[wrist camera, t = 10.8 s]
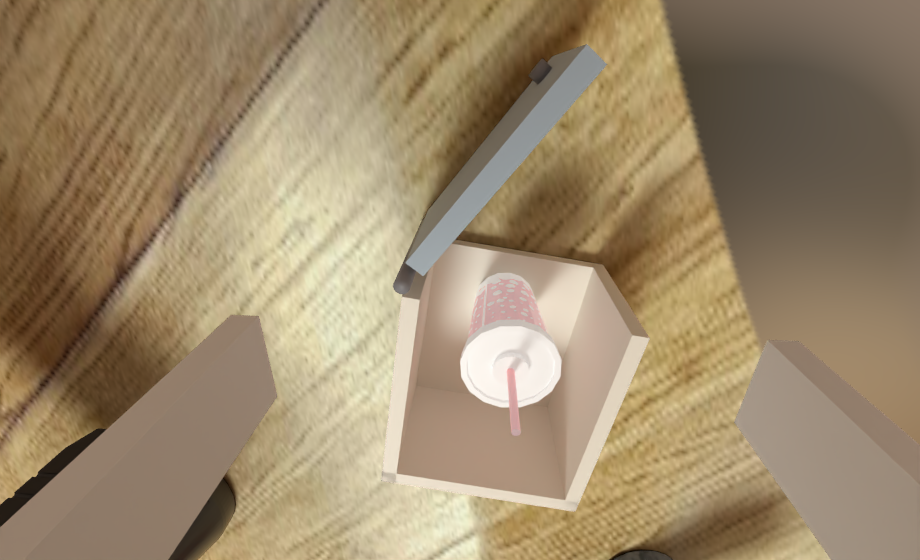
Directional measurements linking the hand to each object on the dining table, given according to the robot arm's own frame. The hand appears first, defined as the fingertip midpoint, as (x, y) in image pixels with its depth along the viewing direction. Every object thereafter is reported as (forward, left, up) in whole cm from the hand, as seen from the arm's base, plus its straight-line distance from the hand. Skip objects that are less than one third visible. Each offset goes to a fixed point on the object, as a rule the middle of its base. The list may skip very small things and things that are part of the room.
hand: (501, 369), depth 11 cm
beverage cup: (+3, -8, -21) cm, 22 cm away
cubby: (+3, -12, -21) cm, 25 cm away
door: (-1, +3, -21) cm, 21 cm away
